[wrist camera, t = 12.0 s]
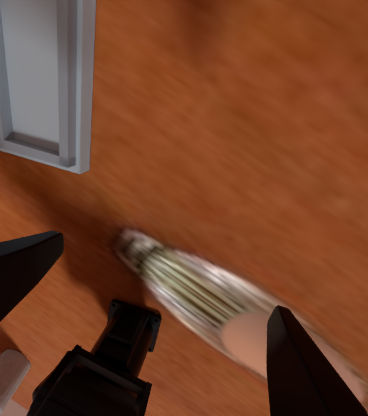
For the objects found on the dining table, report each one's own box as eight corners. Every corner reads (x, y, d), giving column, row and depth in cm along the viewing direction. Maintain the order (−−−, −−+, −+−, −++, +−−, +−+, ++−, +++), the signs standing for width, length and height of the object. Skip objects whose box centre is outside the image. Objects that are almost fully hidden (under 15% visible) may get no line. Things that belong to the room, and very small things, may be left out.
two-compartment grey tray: (89, 170, 22) (72, 176, 20) (-35, 134, 23) (-64, 136, 21) (97, -41, 15) (73, -66, 13) (-74, -71, 17) (-121, -99, 15)
